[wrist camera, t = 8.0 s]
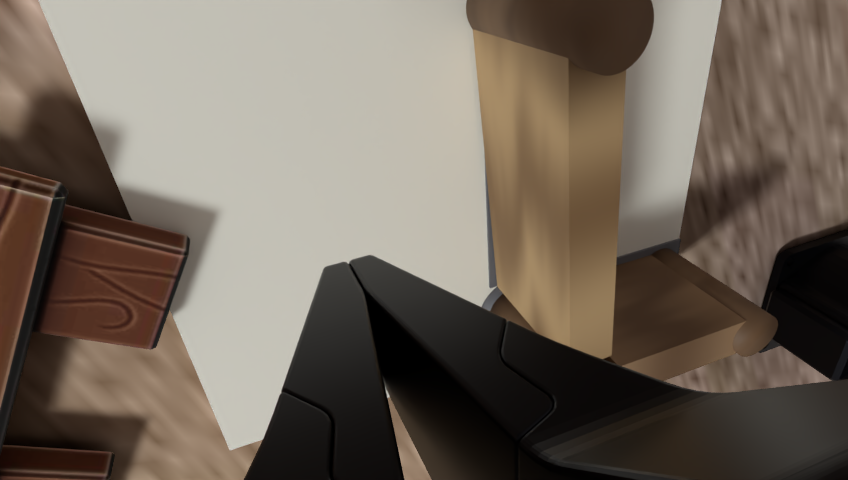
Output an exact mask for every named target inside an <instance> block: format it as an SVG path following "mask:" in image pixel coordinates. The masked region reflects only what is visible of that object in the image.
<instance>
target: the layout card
mask: <svg viewBox="0 0 848 480" xmlns="http://www.w3.org/2000/svg"><path fill="white" fill-rule="evenodd" d="M38 1H39V3H40V5H41V8H42V10H43V12H44V15H45V17H46V19H47V22H48V24H49V27H50V29H51V31H52V34H53V36H54V38H55V41H56V43H57V45H58V48H59V50H60V52H61V55H62V57H63V59H64V62H65V64H66V66H67V69H68V71H69V74H70V76H71V78H72V81H73V83H74V85H75V88H76V90H77V92H78V95H79V97H80V99H81V102H82V104H83V106H84V109H85V111H86V113H87V116H88V118H89V121H90V123H91V125H92V128H93V130H94V132H95V135H96V137H97V139H98V142H99V144H100V146H101V149H102V151H103V153H104V156H105V158H106V160H107V163H108V165H109V168H110V170H111V172H112V175H113V177H114V179H115V182H116V184H117V186H118V189H119V191H120V193H121V196H122V198H123V200H124V203H125V205H126V207H127V210H128V212H129V215H130V217H131V219H132V221H133V222H137V223H141V224H145V225H149V226H153V227H157V228H161V229H165V230H169V231H173V232H177V233H181V234H185V235H187V236H188V237H189V239H190V247H189V255H188V258H187V261H186V264H185V267H184V270H183V272H182V275H181V278H180V281H179V284H178V287H177V289H176V292H175V295H174V298H173V301H172V304H171V307H170V311H171V313H172V316H173V318H174V320H175V323H176V325H177V327H178V330H179V332H180V334H181V337H182V339H183V341H184V344H185V346H186V348H187V351H188V353H189V356H190V358H191V360H192V363H193V365H194V367H195V370H196V372H197V374H198V377H199V379H200V381H201V384H202V386H203V388H204V391H205V393H206V395H207V398H208V400H209V403H210V405H211V407H212V410H213V412H214V414H215V417H216V419H217V421H218V424H219V426H220V428H221V431H222V433H223V435H224V438H225V440H226V442H227V445H228V447H229V450H233V449H236V448H239V447H242V446H245V445H248V444H251V443H254V442H257V441H260V440H263V438H264V436H265V433H266V430H267V428H268V425H269V423H270V420H271V418H272V415H273V412H274V410H275V407H276V404H277V401H278V398H279V395H280V394H281V390H282V387H283V384H284V381H285V378H286V375H287V372H288V370H289V367H290V364H291V361H292V358H293V355H294V352H295V349H296V346H297V343H298V341H299V338H300V335H301V332H302V329H303V326H304V323H305V320H306V317H307V314H308V312H309V309H310V306H311V303H312V300H313V297H314V294H315V291H316V288H317V285H318V283H319V280H320V277H321V274H322V271H323V269H324V268H325V267H326V266H329V265H333V264H337V263H340V262H347V263H348V264H349V262H350V260H352V259H356V258H359V257H363V256H367V255H373V256H375V257H377V258H379V259H382V260H384V261H386V262H388V263H390V264H392V265H394V266H396V267H398V268H400V269H403V270H405V271H407V272H409V273H411V274H413V275H415V276H417V277H419V278H421V279H424V280H426V281H428V282H430V283H432V284H434V285H436V286H438V287H440V288H442V289H445V290H447V291H449V292H451V293H453V294H455V295H457V296H459V297H461V298H463V299H465V300H468V301H470V302H472V303H474V304H476V305H478V306H480V307H482V308H484V309H486V310H489V311H490V310H491V308H492V306H493V304H494V303H495V301H496V300H497V299H498V298H499V297H500V296H501V295H502V294H503V293H502V292H501V290H500V289H499V288H498V287H497V278H496V268H495V257H494V247H493V236H492V226H491V216H490V205H489V195H488V184H487V174H486V163H485V153H484V142H483V132H482V122H481V111H480V101H479V90H478V80H477V69H476V59H475V48H474V38H473V29H472V28H471V26H470V24H469V22H468V19H467V14H466V2H467V0H38ZM651 1H652V4H653V9H654V24H653V30H652V34H651V37H650V40H649V42H648V45H647V47H646V48H645V50H644V52H643V53H642V55H641V56H640V57H639V59H638V60H637V61H636V62H635V63H634V64H633V65H632V66H630V67H629V68H628V69H626V85H625V104H624V124H623V143H622V163H621V183H620V202H619V222H618V242H617V261H616V265H619V264H623V263H626V262H629V261H633V260H636V259H639V258H642V257H646V256H649V255H652V254H653V253H654V252H656V251H658V250H660V249H663V248H668V249H671V250H672V251H674V252H676V253H677V254H678V252H679V247H680V241H681V239H679V236H680V231H681V225H682V219H683V214H684V208H685V203H686V197H687V191H688V186H689V180H690V175H691V169H692V163H693V158H694V152H695V147H696V141H697V136H698V130H699V124H700V119H701V113H702V108H703V102H704V96H705V91H706V85H707V80H708V74H709V69H710V63H711V57H712V52H713V46H714V41H715V35H716V29H717V24H718V18H719V13H720V7H721V1H722V0H651ZM385 389H386V387H385ZM386 394H387V398H388V397H390V396H389V394H388V392H387V390H386Z"/></svg>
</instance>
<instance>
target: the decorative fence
mask: <svg viewBox="0 0 848 480" xmlns="http://www.w3.org/2000/svg"><path fill="white" fill-rule="evenodd" d="M68 192H69V191H68V190H67V188H66V187H65V186H64V185H63V184H62V183H61V182H57V181H54V180H50V179H46V178H43V177H39V176H35V175H31V174H28V173H24V172H20V171H16V170H13V169H9V168H5V167H1V166H0V480H109V479H110V476H111V471H112V466H113V462H114V457H115V454H113V453H112V452H106V451H91V450H76V449H61V448H46V447H30V446H15V445H3V443H4V439H5V435H6V431H7V427H8V424H9V420H10V416H11V412H12V408H13V404H14V400H15V397H16V393H17V389H18V385H19V381H20V377H21V373H22V370H23V366H24V362H25V358H26V354H27V350H28V346H29V343H30V339H31V335H32V332H38V333H44V334H51V335H57V336H64V337H71V338H77V339H84V340H90V341H97V342H104V343H110V344H117V345H123V346H130V347H137V348H143V349H150V350H151V349H153V348H155V347H156V346H157V343H158V341H159V338H160V335H161V332H162V329H163V326H164V324H165V321H166V318H167V315H168V312H169V309H170V307H171V304H172V301H173V298H174V295H175V292H176V289H177V287H178V284H179V281H180V278H181V275H182V272H183V270H184V267H185V264H186V261H187V258H188V255H189V247H190V239H189V237H188V236H187V235H185V234H181V233H177V232H173V231H169V230H165V229H161V228H157V227H153V226H149V225H145V224H141V223H137V222H133V221H129V220H125V219H121V218H117V217H113V216H109V215H105V214H101V213H97V212H93V211H89V210H85V209H81V208H78V207H74V206H70V205H66V200H67V196H68Z"/></svg>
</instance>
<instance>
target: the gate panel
mask: <svg viewBox="0 0 848 480" xmlns="http://www.w3.org/2000/svg"><path fill="white" fill-rule="evenodd" d="M466 14H467V19H468V22H469V24H470V26H471V28H472V29H473V38H474V48H475V59H476V69H477V80H478V90H479V101H480V111H481V122H482V132H483V142H484V153H485V163H486V174H487V184H488V195H489V205H490V216H491V226H492V236H493V247H494V257H495V268H496V278H497V287H498V288H499V289H500V290H501V292H502V293H503V294H504V295H505V296H506V298H507V299H508V300H509V301H510V302H511V303H512V305H513V306H514V307H515V308H516V309H517V310H518V312H519V313H520V314H521V315H522V316H523V317H524V319H525V320H526V321H527V322H528V323H529V324H530V326H531V327H532V328H533V329H534V330H535V331H536V333H538V334H540V335H542V336H545V337H547V338H549V339H551V340H554V341H556V342H559V343H561V344H564V345H566V346H569V347H572V348H574V349H577V350H579V351H582V352H584V353H587V354H590V355H592V356H595V357H598V358H601V359H604V358H607V357H609V356H611V355H612V340H613V320H614V300H615V281H616V261H617V242H618V222H619V202H620V183H621V163H622V143H623V124H624V104H625V85H626V69H628V68H629V67H630V66H632V65H633V64H634V63H635V62H636V61H637V60H638V59H639V57H640V56H641V55H642V53H643V52H644V50H645V48H646V47H647V45H648V42H649V40H650V37H651V34H652V30H653V24H654V9H653V4H652V1H651V0H467V2H466Z"/></svg>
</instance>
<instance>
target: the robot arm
mask: <svg viewBox="0 0 848 480" xmlns="http://www.w3.org/2000/svg"><path fill="white" fill-rule="evenodd" d="M762 309H763V310H765V311H766V312H768V313H769V314H771V315H772V316H774V317H775V318H776V319H777V321H778V327H777V331H776V333H775V335H774V337H773V338H772V340H771V341H770V342H769V343H768V344H767V345H766V346H765V347H764V348H763V349H762V350H760V351H759V353H762V352H765V351H767V350H770V349H773V348H775V347H778V346H782V347H784V348H785V349H787V350H788V351H790V352H791V353H793V354H794V355H795V356H797V357H798V358H800V359H801V360H803V361H804V362H806V363H807V364H808V365H810V366H811V367H813V368H814V369H816V370H817V371H819V372H820V373H821V374H823V375H824V376H826V377H827V378H829V379H830V380H832V381H829V382H820V383H811V384H803V385H794V386H785V387H777V388H768V389H759V390H750V391H742V392H731V393H711V392H703V391H696V390H691V389H687V388H682V387H679V386H676V385H673V384H670V383H667V382H664V381H661V380H659V379H656V378H653V377H650V376H648V375H645V374H642V373H639V372H637V371H634V370H631V369H628V368H626V367H623V366H620V365H617V364H615V363H612V362H609V361H606V360H603V359H601V358H598V357H595V356H592V355H590V354H587V353H584V352H582V351H579V350H577V349H574V348H572V347H569V346H566V345H564V344H561V343H559V342H556V341H554V340H551V339H549V338H547V337H545V336H542V335H540V334H538V333H536V332H533V331H531V330H529V329H527V328H525V327H523V326H520V325H518V324H516V323H514V322H512V321H507V320H506V319H505V318H503V317H501V316H499V315H497V314H495V313H493V312H491V311H489V310H486V309H484V308H482V307H480V306H478V305H476V304H474V303H472V302H470V301H468V300H465V299H463V298H461V297H459V296H457V295H455V294H453V293H451V292H449V291H447V290H445V289H442V288H440V287H438V286H436V285H434V284H432V283H430V282H428V281H426V280H424V279H421V278H419V277H417V276H415V275H413V274H411V273H409V272H407V271H405V270H403V269H400V268H398V267H396V266H394V265H392V264H390V263H388V262H386V261H384V260H382V259H379V258H377V257H375V256H373V255H367V256H363V257H359V258H356V259H352V260H350V262H349V264H348V263H347V262H340V263H337V264H333V265H329V266H326V267H325V268H324V269H323V271H322V274H321V277H320V280H319V283H318V285H317V288H316V291H315V294H314V297H313V300H312V303H311V306H310V309H309V312H308V314H307V317H306V320H305V323H304V326H303V329H302V332H301V335H300V338H299V341H298V343H297V346H296V349H295V352H294V355H293V358H292V361H291V364H290V367H289V370H288V372H287V375H286V378H285V381H284V384H283V387H282V390H281V394H280V395H279V398H278V401H277V404H276V407H275V410H274V412H273V415H272V418H271V420H270V423H269V425H268V428H267V430H266V433H265V436H264V438H263V441H262V443H261V445H260V447H259V449H258V451H257V453H256V456H255V458H254V460H253V462H252V464H251V466H250V468H249V470H248V472H247V474H246V476H245V478H244V480H404V476H403V471H402V466H401V462H400V457H399V452H398V447H397V442H396V437H395V432H394V428H393V423H392V418H391V413H390V408H389V403H388V399H387V394H386V390H387V392H388V394H389V396H390V398H391V400H392V402H393V404H394V406H395V408H396V410H397V412H398V414H399V416H400V418H401V420H402V422H403V424H404V426H405V428H406V430H407V431H408V433H409V435H410V437H411V439H412V441H413V443H414V445H415V447H416V449H417V451H418V453H419V455H420V457H421V459H422V461H423V463H424V465H425V467H426V469H427V471H428V473H429V475H430V477H431V479H432V480H848V230H846V231H843V232H840V233H836V234H833V235H830V236H827V237H824V238H821V239H818V240H815V241H812V242H809V243H806V244H803V245H800V246H797V247H793V248H790V249H787V250H785V251H783V252H782V253H781V254H780V255H779V256H778V258H777V260H776V263H775V266H774V270H773V273H772V276H771V280H770V283H769V287H768V290H767V293H766V297H765V300H764V303H763V307H762ZM385 387H386V389H385Z"/></svg>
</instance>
